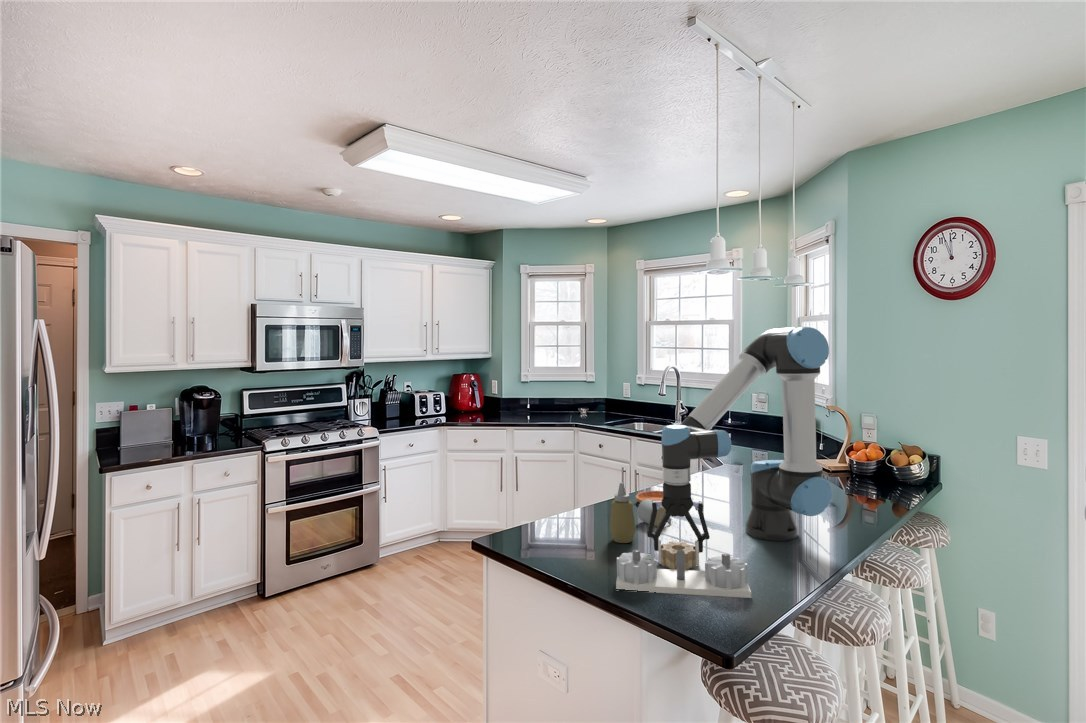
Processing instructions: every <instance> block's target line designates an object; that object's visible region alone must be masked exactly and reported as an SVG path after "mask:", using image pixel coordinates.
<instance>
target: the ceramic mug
mask: <svg viewBox="0 0 1086 723" xmlns="http://www.w3.org/2000/svg"><path fill="white" fill-rule="evenodd" d="M665 511H666V510H665V508H663V507H662V506H660V508H659V509H658V510H657V515H656V519H655V523H654V527H655V528H657V527H658V525H659V523H660V521H661V520H662V518H663V516H664V513H665ZM636 513H637V517H638V519H639V520H641V521H642V522H644V523H646V524H648V525H649V522H650V518H651V514H652V500H650V499H646V500H644V501H642V502H641V503H639V504H638V507H637V512H636ZM672 520H673V519H672V518H671V517H670V518H669V519H668V521H667V523H668V524H670V523H671V522H672Z"/></svg>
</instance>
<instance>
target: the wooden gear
mask: <svg viewBox="0 0 1086 723" xmlns="http://www.w3.org/2000/svg"><path fill="white" fill-rule="evenodd" d="M678 549H682V550H683V551H684V553H685V570H689V569H691V568H693V569H695V568H696V567H697V565H696V550H695V544H689V543H687V542H686V541H681V542H680V541H678V542H677V541H668V542H667V543H665V544H664V543H661V562H662V564H660V565H661V566H662V567H667V568H668V569H672V570H677V560H676V552H677V550H678Z"/></svg>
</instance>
